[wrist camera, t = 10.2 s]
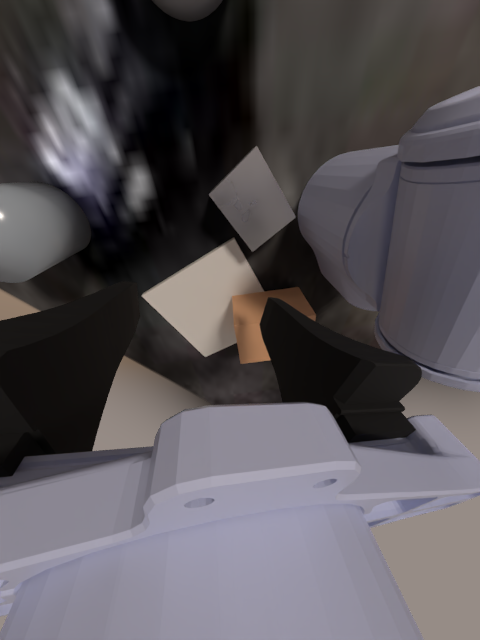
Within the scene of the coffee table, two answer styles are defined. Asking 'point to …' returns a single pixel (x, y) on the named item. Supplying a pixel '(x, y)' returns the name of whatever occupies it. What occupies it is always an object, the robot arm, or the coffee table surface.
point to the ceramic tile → (206, 297)
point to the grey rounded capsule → (38, 229)
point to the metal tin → (252, 200)
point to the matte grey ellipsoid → (188, 8)
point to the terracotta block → (249, 317)
